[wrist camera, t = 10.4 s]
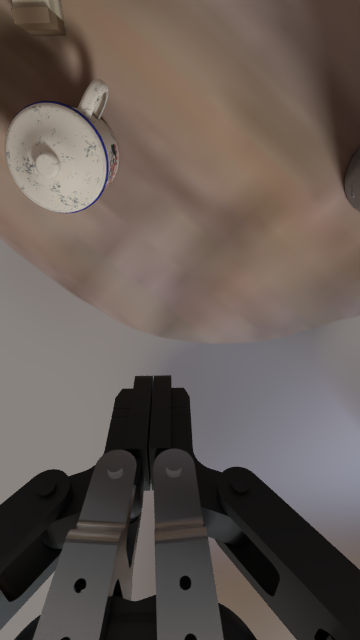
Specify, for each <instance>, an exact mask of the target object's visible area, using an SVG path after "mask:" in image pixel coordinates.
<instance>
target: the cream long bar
mask: <svg viewBox="0 0 360 640" xmlns="http://www.w3.org/2000/svg"><path fill="white" fill-rule="evenodd" d="M12 2H13V6H14V8H11V9H12V14H13V19H14V24H16V25H17V26H19V27H21V28H22V29H24V30H26V31H27V32H29V33H31V34H32V35H34V36H52V35H66V33H65V26H64V20H63V13H62V7H61V0H12Z"/></svg>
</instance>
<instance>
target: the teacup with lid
mask: <svg viewBox="0 0 360 640" xmlns="http://www.w3.org/2000/svg"><path fill="white" fill-rule="evenodd" d="M108 92H109V91H108V86H107V84H106V83H105V82H103V81H102V80H101V79H95V80H93V81H92V82H91V83H90V85H89V86H88V88H87V89H86V91H85V93H84V95H83V97H82V99H81V101H80V104H79V106H78V108H74V107H70V106H68V105H66V104H63V103H59V102H54V101H41V102H36V103H33V104H30V105H28V106H26V107H25V108H23V109H22V110H21V111H19V113H18V114H17V115H16V116H15V117H14V118H13V120H12V122H11V123H10V126H9V128H8V131H7V134H6V139H5V156H6V161H7V165H8V168H9V171H10V173H11V175H12V177H13V179H14V181H15V183H16V184H17V186H18V187H19V188H20V189H21V191H22V192H23V193H24V194H25V195H26V196H27V197H28V198H29V199H31V200H32V201H33V202H35V203H36V204H38V205H39V206H41V207H43V208H45V209H48V210H51V211H54V212H59V213H74V212H78V211H81V210H84V209H86V208H88V207H89V206H91V205H92V204H93V203H95V202H96V201H97V200H98V198H99V197H100V196H101V194H102V192H103V191H104V189H105V188H106V187H107V186H108V185H109V184H110V183H111V182H112V181H113V179H114V177H115V175H116V172H117V169H118V164H119V151H118V146H117V143H116V140H115V137H114V135H113V133H112V132H111V130H110V129H109V127H108V126H107V125H106V123H105V122H104V121H103V120H102V119H100V117H101V114H102V112H103V110H104V107H105V105H106V102H107V98H108Z"/></svg>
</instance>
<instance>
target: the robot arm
mask: <svg viewBox="0 0 360 640" xmlns="http://www.w3.org/2000/svg"><path fill="white" fill-rule="evenodd" d="M344 184H345V193H346V196H347V199H348V201H349V202H350V204H351V205H352V206H353V207H354V208H355V209H356V210H358V211H360V148H359V149H358V151H357V152H356V153H355V155H354V156H353V158H352V160H351V162H350V164H349V166H348V169H347V172H346V175H345V183H344ZM150 484H152V490H154V509H155V510H154V511H155V512H154V514H155V571H156V572H155V573H156V595H154V596H151V597H148V598H145V599H142V600H140V601H131V594H132V576H133V567H134V560H135V554H136V547H137V541H138V534H139V528H140V521H141V515H142V505H143V491H145V490H146V491H147V490H150ZM208 537H211V538H214V539H215V540H216V542H217V544H218V545H219V547H220V548H221V549H222V550H223V551H224V553H225V554H226V555H227V556H228V557H229V559H230V560H231V561H232V562H233V563H234V565H235V566H236V567H237V568H238V569H239V571H240V572H241V573H242V574H243V575H244V577H245V578H246V579H247V580H248V581H249V582H250V584H251V585H252V586H253V587H254V589H255V590H256V591H257V592H258V593H259V595H260V596H261V597H262V598H263V599H264V601H265V602H266V603H267V604H268V606H269V607H270V608H271V609H272V610H273V612H274V613H275V614H276V615H277V616H278V617H279V619H280V620H281V621H282V622H283V624H284V625H285V626H286V627H287V628H288V630H289V631H290V632H291V633H292V635H293V636H294V637H295V638H296V639H297V640H360V570H359V569H358V568H357V567H356V566H355V565H354V564H353V563H352V562H351V561H349V560H348V559H347V558H346V557H345V556H344V555H343V554H342V553H341V552H340V551H338V550H337V549H336V548H335V547H334V546H333V545H332V544H331V543H330V542H328V541H327V540H326V539H325V538H324V537H323V536H322V535H321V534H319V532H318V531H316V530H315V529H314V528H313V527H312V526H311V525H310V524H309V523H308V522H307V521H305V520H304V519H303V518H302V517H301V516H300V515H299V514H298V513H297V512H295V511H294V510H293V509H292V508H291V507H290V506H289V505H288V504H287V503H286V502H285V501H283V500H282V499H281V498H280V497H279V496H278V495H277V494H276V493H275V492H274V491H273V490H271V489H270V488H269V487H268V486H267V485H266V484H265V483H264V482H262V480H260V479H259V478H258V477H257V476H256V475H255V474H254V473H252V472H251V471H249V470H248V469H245V468H242V467H231V468H228V469H226V470H225V471H223V472H219V471H216V470H213V469H210V468H207V467H205V466H204V465H202V464H201V463H200V462H199V461H198V460H197V459H196V457H195V455H194V453H193V446H192V429H191V413H190V398H189V395H188V394H187V392H186V390H185V389H184V388H172V387H171V375H169V376H168V375H167V376H154V382H153V376H135V381H134V388H133V389H122V390H121V392H120V393H119V394H118V396H117V397H116V398H115V403H114V409H113V413H112V419H111V423H110V428H109V432H108V437H107V442H106V447H105V451H104V454H103V456H102V457H101V458H100V459H99V460H98V461H97V463H96V465H95V466H93V467H92V468H90V469H89V470H86V471H84V472H81V473H78V474H75V475H72V476H67V475H66V474H65V473H64V472H63V471H60V470H55V469H53V470H47V471H44V472H42V473H40V474H38V475H36V476H35V477H34V478H33V479H31V480H30V481H29V482H28V483H26V484H25V485H24V486H23V487H22V488H20V489H19V490H18V491H17V492H16V493H14V494H13V495H12V496H11V497H9V498H8V499H7V500H6V501H5V502H3V503H2V504H1V505H0V630H1V629H2V628H3V626H4V625H5V624H6V623H7V622H8V621H9V620H10V619H11V618H12V617H13V616H14V615H15V613H16V612H17V611H18V610H19V609H20V608H21V607H22V606H23V605H24V604H25V602H26V601H27V600H28V599H29V598H30V597H31V596H32V595H33V594H34V593H35V592H36V591H37V590H38V588H39V587H40V586H41V585H42V584H43V583H44V582H45V581H46V580H47V579H48V578H49V577H50V575H51V574H52V573H53V572H54V571H55V573H54V576H53V579H52V582H51V585H50V588H49V592H48V594H47V598H46V601H45V604H44V607H43V610H42V613H41V615H40V616H38V617H37V618H36V619H35V620H33V621H32V622H31V623H30V624H29V625H28V626H27V627H26V628H24V629H23V631H21V633H20V634H19V635H18V636H17V637H16V639H15V640H257V639H256V638H255V636H254V635H253V633H252V632H251V631H250V629H249V628H248V627H247V626H246V624H245V623H244V622H243V621H242V620H241V619H240V618H239V617H238V616H237V615H236V614H235V613H234V612H232V611H231V610H230V609H228V608H227V607H225V606H224V605H222V604H220V603H218V600H217V593H216V586H215V580H214V574H213V567H212V561H211V554H210V547H209V542H208Z"/></svg>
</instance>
